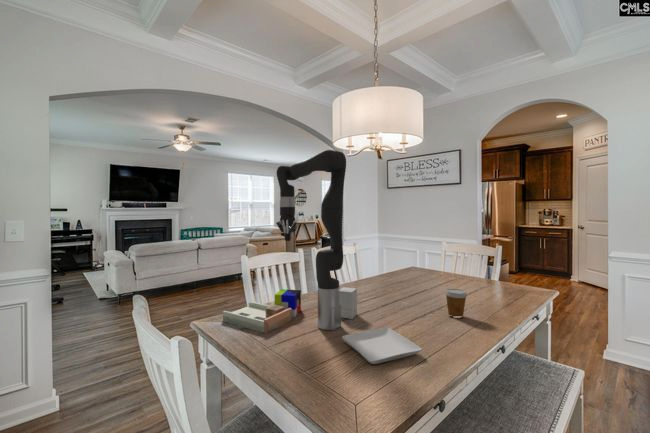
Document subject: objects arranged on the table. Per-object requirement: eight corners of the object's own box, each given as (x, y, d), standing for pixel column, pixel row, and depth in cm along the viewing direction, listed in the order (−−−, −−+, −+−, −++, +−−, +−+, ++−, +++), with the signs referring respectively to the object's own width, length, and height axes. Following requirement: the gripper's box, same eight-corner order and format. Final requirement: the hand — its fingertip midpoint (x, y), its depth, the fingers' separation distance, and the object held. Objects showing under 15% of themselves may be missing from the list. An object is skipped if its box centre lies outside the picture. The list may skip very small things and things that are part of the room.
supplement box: (357, 314, 147) (357, 288, 147) (352, 319, 140) (352, 292, 140) (343, 312, 150) (343, 286, 150) (337, 317, 143) (337, 290, 143)
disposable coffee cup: (469, 316, 145) (469, 290, 144) (462, 321, 138) (462, 295, 137) (449, 311, 151) (449, 287, 151) (441, 316, 144) (441, 291, 144)
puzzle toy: (294, 316, 144) (294, 295, 144) (274, 315, 146) (274, 294, 146) (300, 309, 154) (300, 290, 153) (281, 308, 156) (281, 289, 155)
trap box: (291, 320, 139) (291, 308, 139) (266, 333, 125) (266, 320, 125) (250, 310, 153) (250, 299, 153) (222, 321, 138) (222, 309, 138)
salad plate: (370, 371, 96) (370, 360, 96) (340, 343, 116) (340, 335, 116) (423, 358, 105) (423, 348, 105) (387, 334, 124) (387, 326, 124)
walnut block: (284, 315, 138) (284, 306, 138) (276, 319, 133) (275, 310, 133) (274, 313, 141) (274, 304, 141) (265, 317, 136) (265, 308, 136)
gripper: (302, 206, 152) (302, 241, 152) (281, 206, 158) (281, 239, 159) (293, 206, 145) (293, 242, 146) (272, 206, 152) (272, 241, 152)
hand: (287, 240), depth 152 cm, fingers closed
